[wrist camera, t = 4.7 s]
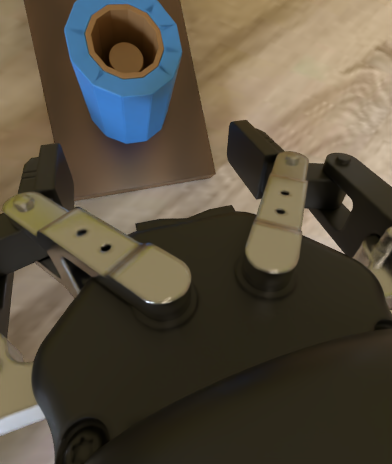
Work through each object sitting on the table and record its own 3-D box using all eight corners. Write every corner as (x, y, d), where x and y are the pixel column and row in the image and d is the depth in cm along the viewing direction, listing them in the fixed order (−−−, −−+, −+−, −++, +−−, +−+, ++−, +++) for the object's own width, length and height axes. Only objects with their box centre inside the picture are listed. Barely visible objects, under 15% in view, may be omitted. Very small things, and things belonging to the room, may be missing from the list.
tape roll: (97, 148, 22) (79, 101, 14) (81, 71, 22) (54, -14, 14) (172, 137, 23) (190, 90, 16) (157, 65, 23) (168, -16, 16)
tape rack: (71, 201, 23) (40, 183, 15) (12, -70, 22) (-48, -222, 15) (211, 177, 25) (242, 152, 18) (160, -67, 25) (171, -194, 18)
